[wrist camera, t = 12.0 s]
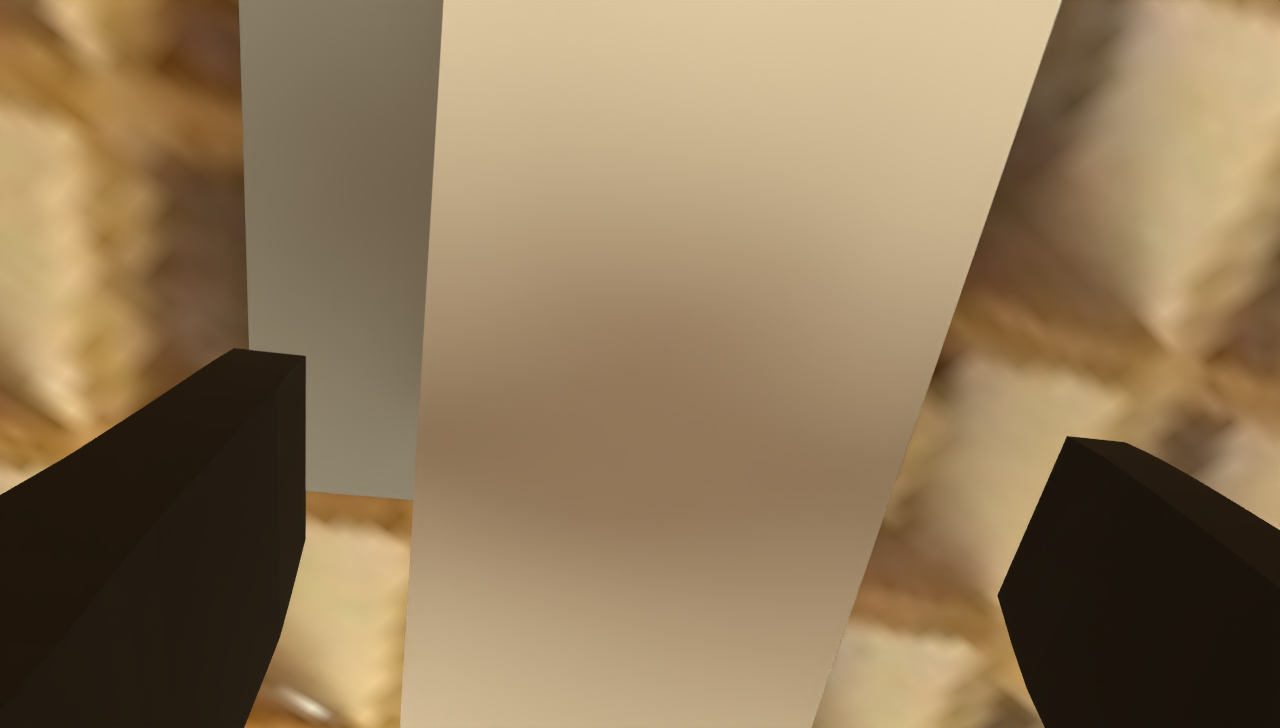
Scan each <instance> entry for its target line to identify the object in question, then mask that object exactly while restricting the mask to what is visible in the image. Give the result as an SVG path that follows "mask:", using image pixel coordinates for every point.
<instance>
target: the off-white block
mask: <svg viewBox="0 0 1280 728" xmlns="http://www.w3.org/2000/svg"><path fill="white" fill-rule="evenodd" d="M1060 3H1061V0H444V2H443V18H442V35H441V52H440V68H439V85H438V102H437V118H436V135H435V152H434V168H433V185H432V202H431V218H430V235H429V252H428V268H427V285H426V301H425V318H424V335H423V351H422V368H421V385H420V401H419V418H418V435H417V451H416V468H415V485H414V501H413V518H412V535H411V551H410V568H409V585H408V601H407V618H406V635H405V651H404V668H403V684H402V701H401V718H400V728H812V725H813V722H814V719H815V716H816V713H817V710H818V707H819V704H820V701H821V698H822V696H823V693H824V690H825V687H826V684H827V681H828V678H829V675H830V672H831V669H832V666H833V664H834V661H835V658H836V655H837V652H838V649H839V646H840V643H841V640H842V637H843V634H844V631H845V629H846V626H847V623H848V620H849V617H850V614H851V611H852V608H853V605H854V602H855V599H856V597H857V594H858V591H859V588H860V585H861V582H862V579H863V576H864V573H865V570H866V567H867V565H868V562H869V559H870V556H871V553H872V550H873V547H874V544H875V541H876V538H877V535H878V533H879V530H880V527H881V524H882V521H883V518H884V515H885V512H886V509H887V506H888V503H889V501H890V498H891V495H892V492H893V489H894V486H895V483H896V480H897V477H898V474H899V471H900V469H901V466H902V463H903V460H904V457H905V454H906V451H907V448H908V445H909V442H910V439H911V437H912V434H913V431H914V428H915V425H916V422H917V419H918V416H919V413H920V410H921V407H922V405H923V402H924V399H925V396H926V393H927V390H928V387H929V384H930V381H931V378H932V375H933V373H934V370H935V367H936V364H937V361H938V358H939V355H940V352H941V349H942V346H943V343H944V341H945V338H946V335H947V332H948V329H949V326H950V323H951V320H952V317H953V314H954V311H955V309H956V306H957V303H958V300H959V297H960V294H961V291H962V288H963V285H964V282H965V279H966V277H967V274H968V271H969V268H970V265H971V262H972V259H973V256H974V253H975V250H976V247H977V245H978V242H979V239H980V236H981V233H982V230H983V227H984V224H985V221H986V218H987V215H988V213H989V210H990V207H991V204H992V201H993V198H994V195H995V192H996V189H997V186H998V183H999V181H1000V178H1001V175H1002V172H1003V169H1004V166H1005V163H1006V160H1007V157H1008V154H1009V151H1010V148H1011V146H1012V143H1013V140H1014V137H1015V134H1016V131H1017V128H1018V125H1019V122H1020V119H1021V116H1022V114H1023V111H1024V108H1025V105H1026V102H1027V99H1028V96H1029V93H1030V90H1031V87H1032V84H1033V82H1034V79H1035V76H1036V73H1037V70H1038V67H1039V64H1040V61H1041V58H1042V55H1043V52H1044V50H1045V47H1046V44H1047V41H1048V38H1049V35H1050V32H1051V29H1052V26H1053V23H1054V20H1055V18H1056V15H1057V12H1058V9H1059V6H1060Z"/></svg>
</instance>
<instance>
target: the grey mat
mask: <svg viewBox="0 0 1280 728" xmlns="http://www.w3.org/2000/svg"><path fill="white" fill-rule="evenodd" d="M1062 1H1063V0H1061V3H1060V6H1059V9H1058V12H1059V10H1060V7H1061V4H1062ZM443 2H444V0H239V21H240V55H241V89H242V123H243V157H244V191H245V225H246V260H247V294H248V328H249V350H255V351H265V352H274V353H284V354H293V355H303V356H306V491H311V492H323V493H334V494H346V495H358V496H369V497H381V498H393V499H405V500H414V485H415V468H416V451H417V435H418V418H419V401H420V385H421V368H422V351H423V335H424V318H425V301H426V285H427V268H428V252H429V235H430V218H431V202H432V185H433V168H434V152H435V135H436V118H437V102H438V85H439V68H440V52H441V35H442V18H443ZM1058 12H1057V15H1058ZM1057 15H1056V18H1057ZM1056 18H1055V20H1054V23H1053V26H1052V29H1051V32H1050V35H1051V33H1052V30H1053V27H1054V24H1055V21H1056ZM1050 35H1049V38H1050ZM1049 38H1048V41H1049ZM1048 41H1047V44H1048ZM1047 44H1046V47H1047ZM1046 47H1045V50H1046ZM1045 50H1044V52H1043V55H1042V58H1043V56H1044V53H1045ZM1042 58H1041V61H1042ZM1041 61H1040V64H1041ZM1040 64H1039V67H1040ZM1039 67H1038V70H1039ZM1038 70H1037V73H1038ZM1037 73H1036V76H1037ZM1036 76H1035V78H1036ZM1034 81H1035V79H1034ZM1033 84H1034V82H1033ZM1033 84H1032V87H1033ZM1032 87H1031V90H1032ZM1031 90H1030V93H1031ZM1030 93H1029V96H1030ZM1029 96H1028V99H1029ZM1028 99H1027V101H1028ZM1026 104H1027V102H1026ZM1025 107H1026V105H1025ZM1024 110H1025V108H1024ZM1023 113H1024V111H1023ZM1022 116H1023V114H1022ZM1022 116H1021V119H1022ZM1021 119H1020V121H1021ZM1019 124H1020V122H1019ZM1018 127H1019V125H1018ZM1017 130H1018V128H1017ZM1016 133H1017V131H1016ZM1015 136H1016V134H1015ZM1014 139H1015V137H1014ZM1013 142H1014V140H1013ZM1012 144H1013V143H1012ZM1011 147H1012V146H1011ZM1010 150H1011V148H1010ZM1009 153H1010V151H1009ZM1008 156H1009V154H1008ZM1007 159H1008V157H1007ZM1006 162H1007V160H1006ZM1005 165H1006V163H1005ZM1004 167H1005V166H1004ZM1003 170H1004V169H1003ZM1002 173H1003V172H1002ZM1001 176H1002V175H1001ZM1000 179H1001V178H1000ZM999 182H1000V181H999ZM998 185H999V183H998ZM997 187H998V186H997ZM996 190H997V189H996ZM995 193H996V192H995ZM994 196H995V195H994ZM993 199H994V198H993ZM992 202H993V201H992ZM991 205H992V204H991ZM990 208H991V207H990ZM987 216H988V215H987ZM986 219H987V218H986ZM985 222H986V221H985ZM984 225H985V224H984ZM983 228H984V227H983ZM976 248H977V247H976ZM975 251H976V250H975Z"/></svg>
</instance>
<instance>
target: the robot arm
mask: <svg viewBox="0 0 1280 728" xmlns="http://www.w3.org/2000/svg"><path fill="white" fill-rule="evenodd" d="M305 531H306V356H303V355H293V354H284V353H274V352H265V351H255V350H246V349H236V348H234V349H232V350H230V351H229V352H227V353H225V354H224V355H222V356H220V357H219V358H217V359H216V360H214V361H212V362H211V363H209V364H208V365H206V366H205V367H203V368H202V369H200V370H199V371H197V372H196V373H194V374H193V375H191V376H190V377H188V378H187V379H185V380H184V381H182V382H181V383H179V384H178V385H176V386H175V387H173V388H172V389H170V390H169V391H167V392H166V393H164V394H163V395H161V396H160V397H158V398H157V399H155V400H154V401H152V402H151V403H149V404H148V405H146V406H145V407H143V408H142V409H140V410H139V411H137V412H136V413H134V414H132V415H131V416H129V417H128V418H126V419H125V420H123V421H122V422H120V423H118V424H117V425H115V426H114V427H112V428H111V429H109V430H108V431H106V432H104V433H103V434H101V435H100V436H98V437H97V438H95V439H94V440H92V441H90V442H89V443H87V444H86V445H84V446H83V447H81V448H80V449H78V450H76V451H75V452H73V453H72V454H70V455H68V456H67V457H65V458H64V459H62V460H60V461H59V462H57V463H55V464H53V465H52V466H50V467H48V468H46V469H45V470H43V471H41V472H39V473H38V474H36V475H34V476H33V477H31V478H29V479H27V480H26V481H24V482H22V483H20V484H19V485H17V486H15V487H13V488H12V489H10V490H8V491H7V492H5V493H3V494H1V495H0V728H244V727H245V724H246V722H247V719H248V717H249V714H250V712H251V709H252V707H253V704H254V702H255V699H256V696H257V694H258V691H259V689H260V686H261V684H262V681H263V679H264V676H265V674H266V671H267V669H268V666H269V664H270V661H271V659H272V656H273V653H274V651H275V648H276V646H277V643H278V641H279V638H280V635H281V631H282V628H283V624H284V620H285V616H286V613H287V609H288V605H289V602H290V598H291V594H292V590H293V586H294V582H295V578H296V574H297V570H298V567H299V563H300V559H301V555H302V551H303V547H304V543H305ZM998 599H999V602H1000V606H1001V609H1002V612H1003V616H1004V619H1005V623H1006V626H1007V630H1008V633H1009V636H1010V640H1011V643H1012V646H1013V649H1014V652H1015V655H1016V658H1017V661H1018V664H1019V667H1020V670H1021V673H1022V676H1023V679H1024V682H1025V685H1026V687H1027V690H1028V692H1029V694H1030V696H1031V699H1032V701H1033V703H1034V705H1035V707H1036V710H1037V712H1038V714H1039V716H1040V718H1041V720H1042V722H1043V724H1044V727H1045V728H1280V530H1278V529H1277V528H1275V527H1274V526H1272V525H1270V524H1269V523H1267V522H1266V521H1264V520H1262V519H1261V518H1259V517H1257V516H1256V515H1254V514H1252V513H1251V512H1249V511H1248V510H1246V509H1244V508H1243V507H1241V506H1239V505H1238V504H1236V503H1235V502H1233V501H1231V500H1230V499H1228V498H1226V497H1225V496H1223V495H1221V494H1220V493H1218V492H1216V491H1215V490H1213V489H1211V488H1210V487H1208V486H1206V485H1205V484H1203V483H1201V482H1200V481H1198V480H1196V479H1194V478H1193V477H1191V476H1189V475H1187V474H1186V473H1184V472H1182V471H1181V470H1179V469H1177V468H1175V467H1173V466H1172V465H1170V464H1168V463H1166V462H1164V461H1162V460H1161V459H1159V458H1157V457H1155V456H1153V455H1151V454H1149V453H1147V452H1145V451H1143V450H1140V449H1138V448H1136V447H1134V446H1132V445H1130V444H1128V443H1125V442H1117V441H1107V440H1098V439H1088V438H1079V437H1069V436H1067V437H1066V440H1065V442H1064V444H1063V447H1062V449H1061V451H1060V454H1059V456H1058V458H1057V460H1056V463H1055V465H1054V467H1053V470H1052V472H1051V474H1050V476H1049V479H1048V481H1047V483H1046V486H1045V488H1044V490H1043V492H1042V495H1041V497H1040V499H1039V502H1038V504H1037V506H1036V508H1035V511H1034V513H1033V515H1032V518H1031V520H1030V522H1029V525H1028V527H1027V529H1026V531H1025V534H1024V536H1023V538H1022V541H1021V543H1020V545H1019V547H1018V550H1017V552H1016V554H1015V557H1014V559H1013V561H1012V563H1011V566H1010V568H1009V570H1008V573H1007V575H1006V577H1005V579H1004V582H1003V584H1002V586H1001V589H1000V591H999V593H998Z"/></svg>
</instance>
